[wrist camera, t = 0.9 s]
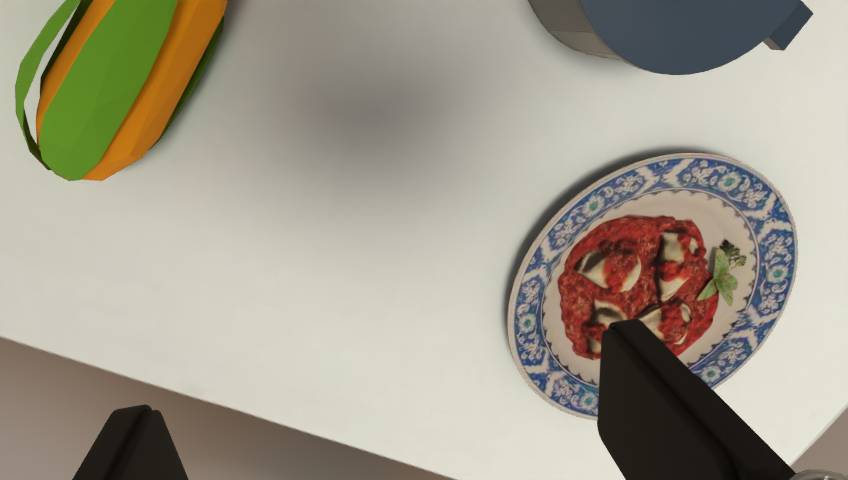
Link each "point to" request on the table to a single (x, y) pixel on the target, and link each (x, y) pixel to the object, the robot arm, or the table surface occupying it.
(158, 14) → the corn
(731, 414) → the robot arm
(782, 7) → the pot lid
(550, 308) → the ceramic plate
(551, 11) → the pot
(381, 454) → the table surface
